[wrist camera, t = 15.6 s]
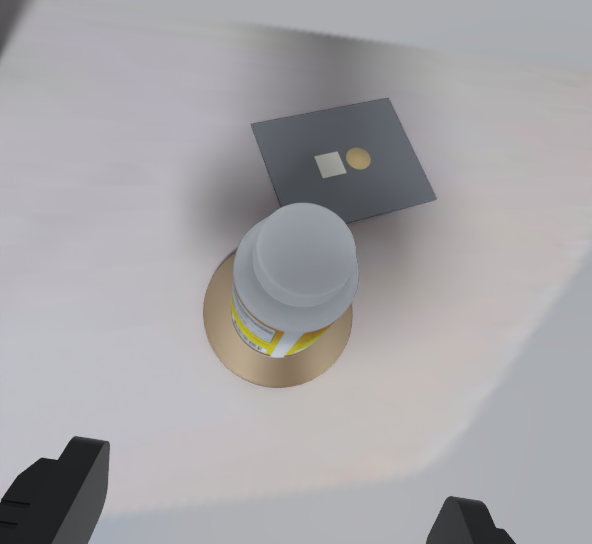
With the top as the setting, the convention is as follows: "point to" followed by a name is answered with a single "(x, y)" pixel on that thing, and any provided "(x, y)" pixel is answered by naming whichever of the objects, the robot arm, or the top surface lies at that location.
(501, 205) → the top surface
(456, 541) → the robot arm
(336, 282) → the supplement bottle
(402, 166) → the gray board
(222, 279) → the cork coaster
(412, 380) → the top surface
